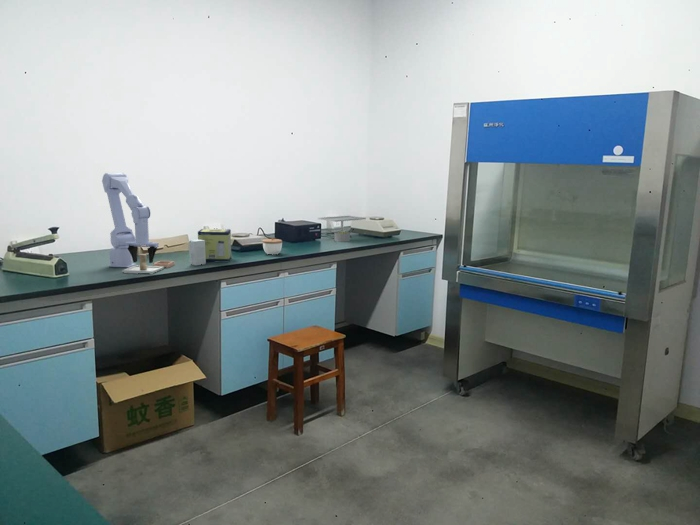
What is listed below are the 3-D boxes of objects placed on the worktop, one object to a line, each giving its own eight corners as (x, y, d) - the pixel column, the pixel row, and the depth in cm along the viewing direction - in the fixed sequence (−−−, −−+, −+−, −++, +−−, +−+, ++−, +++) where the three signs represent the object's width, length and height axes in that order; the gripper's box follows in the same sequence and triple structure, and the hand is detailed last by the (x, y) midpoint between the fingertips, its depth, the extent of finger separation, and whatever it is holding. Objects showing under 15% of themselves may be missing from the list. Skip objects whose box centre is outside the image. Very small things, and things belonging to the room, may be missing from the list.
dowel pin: (138, 270, 257) (138, 254, 256) (142, 268, 260) (141, 253, 258) (144, 270, 256) (144, 255, 255) (148, 269, 259) (147, 254, 258)
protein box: (201, 258, 293) (200, 228, 291) (231, 258, 295) (231, 229, 292) (198, 261, 283) (197, 231, 280) (229, 262, 285) (228, 231, 282)
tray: (122, 272, 253) (122, 270, 253) (135, 267, 265) (135, 265, 264) (152, 274, 251) (152, 271, 251) (163, 269, 263) (163, 266, 263)
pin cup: (153, 267, 267) (153, 263, 267) (160, 264, 274) (159, 260, 274) (168, 267, 266) (168, 264, 266) (174, 264, 274) (174, 261, 273)
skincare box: (200, 262, 280) (200, 239, 278) (206, 264, 278) (205, 240, 276) (190, 264, 276) (189, 240, 274) (195, 265, 273) (195, 241, 271)
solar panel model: (348, 237, 384) (348, 215, 381) (365, 240, 372) (366, 217, 369) (317, 240, 365) (317, 217, 362) (334, 243, 353) (335, 220, 350)
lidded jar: (259, 253, 312) (258, 236, 310) (275, 251, 318) (275, 235, 317) (269, 256, 304) (269, 239, 302) (285, 254, 311) (286, 237, 309)
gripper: (122, 233, 252) (123, 263, 254) (153, 234, 250) (154, 264, 253) (129, 231, 259) (131, 260, 261) (160, 232, 257) (161, 261, 260)
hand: (143, 262), depth 257 cm, fingers open, 7 cm apart
